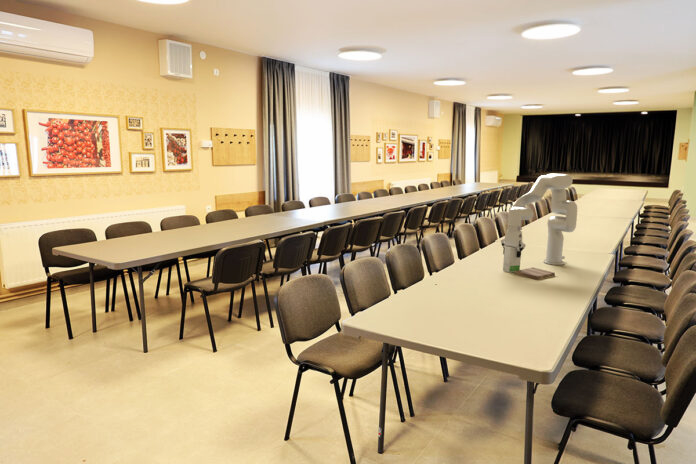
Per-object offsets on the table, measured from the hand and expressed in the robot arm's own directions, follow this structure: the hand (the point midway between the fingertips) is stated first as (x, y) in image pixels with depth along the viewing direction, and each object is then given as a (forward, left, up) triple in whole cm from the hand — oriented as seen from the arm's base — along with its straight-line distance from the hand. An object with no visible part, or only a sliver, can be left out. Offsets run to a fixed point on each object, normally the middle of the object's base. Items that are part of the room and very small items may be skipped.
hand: (511, 255), depth 281 cm
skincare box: (0, 0, -10) cm, 10 cm away
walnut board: (-5, +14, -10) cm, 17 cm away
